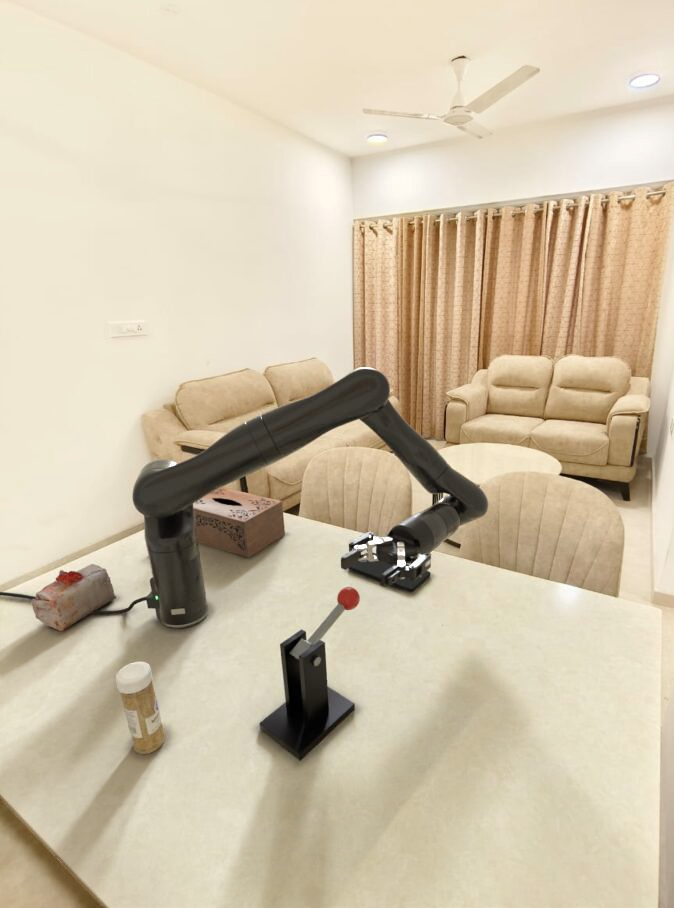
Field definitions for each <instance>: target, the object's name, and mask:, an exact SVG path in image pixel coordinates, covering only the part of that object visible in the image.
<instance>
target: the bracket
mask: <svg viewBox="0 0 674 908" xmlns="http://www.w3.org/2000/svg"><path fill="white" fill-rule="evenodd" d="M301 639H304V640H306V641H307V640H308V639H307V631H306V630H304V629H300V630H298V631H296V633H294V634H292V635H291V636H290V637H288V638H287V639H285V640H283V641H282V642H280V643H279V649H280V658H281V659H280V660H281V669H282V679H283V689H284V698H285V702H284V703H283V704H281V705H280V706H279V707H277V708H276V709H275V710H274V711H272V713H270V714H269V715H268V716H267V717H265V718H264V719H263V720H261V721H260V722H259V723H258V724H259V730H261V732H263V733H264V734H265V735H266V736H268V737H269V738H270V739H272V740H273V742H275V743H276V744H278V745H279V746H280V747H282V748H283V749H284V750H286V751H287V753H290V754H291V755H292V756H293V757H294V758H295V759H297V761H300V762H301V761H302V760H303V759H304V758H305V757H306V756H308V755H309V753H311V751H313V750H314V749H315V748H316V747H317V746H318V745H320V743H321V742H322V741H323V740H325V738H326V737H328V736H329V735H330V733H332V732H333V731H334V730H335V729H336V728H337V727H338V726H339V725H340V724H341V723H342V722H343V721H344V720H346V719H347V718H348V717H349V716H350V715H351V714H352V713H353V712H354V711H355V709H356V708H355V707H356V706H355V702H353V701H352V700H350V699H348V698H347V697H345V696H343V695H342V694H340V693H338V692H337V691H336V690H334V689H332V688H331V687H329V685H328V672H327V671H328V669H327V655H326V654H327V653H326V642H325V641H323V640H322V639H321V640H319V641H318V642H317V643H315V644H314V645H313V646H311V647H310V648H309V649H307V650H306V651H304V652H303V653H302V654H300V655H299V664H297V663H296V662H295V661H294V660H293V658H292V657H291V655H290V651H291V650H292V649H293V648H294V647H295V646H296V644H297V643H298V642H299V641H300V640H301Z"/></svg>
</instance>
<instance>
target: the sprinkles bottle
mask: <svg viewBox="0 0 674 908" xmlns="http://www.w3.org/2000/svg"><path fill="white" fill-rule="evenodd" d="M153 678H154V677H153V672H152V667H151V665H150V664H149V663H147V662H145V661H134V662H131V663H128V664H126V665H125V666H123V667H121V668H120V670H118V671H117V672H116V675H115V683H116V688H117V690H118V692H119V694H120V697H121V701H122V707H123V711H124V714H125V719H126V723H127V726H128V730H129V734H130V735H131V738H132V742H133V744H132V747H133V750H134V751H135V752H136V753H138V754H141V755H146V754H151V753H153V752H155V751H157V750H158V749H160V747H161V746H162V745H163V744H164V743H165V740H166V732H165V730H164V727H163V722H162V715H161V712H160V707H159V702H158V698H157V695H156V691H155V687H154V682H153Z"/></svg>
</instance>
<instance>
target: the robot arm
mask: <svg viewBox="0 0 674 908" xmlns="http://www.w3.org/2000/svg"><path fill="white" fill-rule="evenodd" d="M390 393H391V385H390V382H389V380H388V378H387V376H386V375H385V374H384V373H383V372H381V371H380V370H378V369H376V368H373V367H369V366H362V367H357V368H355V369H353V370H351V371H349V373H347V374H345V376H342V378H340V379H339V380H336V381H335V382H334V383H332V384H330V385H329V386H327V387H326V388H324V389H321V390H320V391H318V392H316V393H314V394H311V395H310V396H307V397H304V398H301V399H298V400H295V401H292V402H289V403H286V404H283V405H281V406H277V407H275V408H273V409H270V410H268V411H265V412H263V413H261V414H258V415H256V416H255V417H252V418H251V419H247V420H246V421H244V422H242V423H240V424H239V425H237V426H235V427H234V428H232V429H231V430H229V431H228V432H227V433H225V434H223V436H221V437H220V438H218V439H217V440H216V441H215V442H213V443H212V444H211V445H209V447H207V448H206V449H205V450H203V451H201V452H200V453H198V454H197V455H194V456H193V457H190V458H188V459H185V460H184V461H180V462H176V461H174V460H171V459H167V458H159V459H154V460H152V461H150V462H147V464H145V465H144V466H143V467H142V468H141V469H140V471H139V473H138V475H137V477H136V480H135V482H134V485H133V488H132V497H131V498H132V503H133V506H134V508H135V510H137V511H138V513H140V514H141V515H143V521H144V523H143V524H144V541H145V545H146V550H147V555H148V560H149V565H150V569H151V575H152V577H150V578H149V585H150V592H149V593H148V594H147V595H146V596H143V597H140V598H136V599H135V600H133V601H132V602H131V603H130V604H129V606H128V607H126V608H123V609H116V610H102V609H97V610H94V611H92V612H91V613H90V614H97V615H118V614H124V613H128V612H130V611H131V610H132V609H133V608H134V606H135V605H137V604H139V603H141V602H144V601H145V602H146V606H147V609H153V610H154V609H155V613H156V619H157V620H159V621H160V622H161V624H162V625H163V626H164V627H166V628H169V629H185V628H189V627H192V626H194V625H197V624H199V623H201V622H202V621H203V620H204V619H205V618H206V617H207V616H208V614H209V611H210V607H209V604H208V599H207V592H206V585H205V580H204V574H203V567H202V561H201V555H200V554H201V553H200V549H199V542H197V536H196V527H195V515H194V508H193V503H195V502H196V501H198V500H199V499H201V498H203V497H204V496H206V495H207V494H209V493H211V492H213V491H214V490H216V489H218V488H220V487H225V486H227V485H229V484H231V483H234V482H236V481H238V480H240V479H242V478H244V477H247V476H248V475H249V476H250V475H251V474H253V473H255V472H257V471H259V470H261V469H264V468H267V467H268V466H270V465H273V464H275V463H277V462H278V461H281V460H283V459H285V458H287V457H288V456H290V455H291V454H292V455H293V454H294V453H296V452H297V451H300V450H301V449H302V448H304V447H306V446H308V445H310V444H311V443H312V442H314V441H316V440H317V439H319V438H320V437H321V436H324V435H325V434H327V433H329V432H330V431H333V430H335V429H338V428H339V427H342V426H344V425H347V424H349V423H352V422H355V421H358V420H360V421H361V422H362V423H363V424H364V425H366V426H367V427H368V428H369V429H370V430H371V431H372V432H374V434H375V435H376V436H378V438H380V440H381V441H383V443H384V444H385V445H386V446H387V447H388V448H389V449H390V450H391V452H392V453H393V454H394V455H395V456H396V458H398V460H399V461H400V462H401V463H402V464H403V466H404V467H405V468H406V469H407V471H408V472H409V473H410V474H411V476H412V477H413V478H414V479H415V480H416V481H417V482H418V483H419V484H420V485H421V486H422V488H423V489H424V490H425V491H426V492H427V493H429V494H431V495H438V494H447V495H445V496H444V497H442V498H440V499H439V500H437V501H436V502H435V503H434V504H433V505H431V506H429V507H427V508H425V509H424V510H422V511H420V512H417V513H415V514H412V515H411V516H409V517H408V518H406V519H404V520H403V521H401V522H399V523H398V524H396V525H394V526H392V528H391V529H390V530H389V532H388V534H387V535H386V536H382V537H375V533H374V532H373V531H368V532H366V533H364V534H362V535H360V536H358V537H356V538H354V539H352V540H350V541H348V552H347V553H345V554H343V555H342V556H340V568H341V569H342V570H344V571H346V570H349V569H348V568H349V567H351V566H353V565H354V564H356V563H357V562H358V561H362V560H368V561H370V562H372V561H382V562H386V563H388V564H389V565H394V566H393V567H391V568H390V569H388V570H387V571H386V572H384V573H383V574H382V575H381V581H380V586H381V587H382V588H383V587H384V588H387V587H388V586H393V585H392V584H393V583H395V582H396V581H398V580H399V579H404V578H405V577H406V578H409V580H410V581H415V580H417V579H418V578H419V577H420V576H421V575H422V574H423V573H425V572H426V571H428V570H429V569H430V568H431V567H432V552H434V550H436V549H437V548H438V547H439V546H440V545H441V544H442V543H443V542H445V541H446V540H447V539H449V538H451V536H453V535H454V534H455V533H456V532H457V530H458V529H459V527H461V526H464V525H466V524H468V523H471V522H473V521H476V520H478V519H480V518H483V517H484V516H485V515H486V514H487V512H488V511H489V501H488V497H487V495H486V493H485V492H484V490H483V489H482V488H481V487H480V486H479V485H478V484H476V483H475V482H474V481H472V480H471V479H469V478H468V477H466V476H465V475H464V474H461V473H460V472H459V471H457V470H455V469H454V468H452V466H451V465H450V464H449V463H448V462H447V460H446V459H445V458H444V457H443V456H442V454H440V451H438V450H437V449H436V448H435V447H434V446H433V444H431V443H430V442H429V441H428V440H427V439H426V438H425V437H423V436H422V434H421V433H419V432H418V431H417V430H416V429H415V428H414V427H412V426H411V425H410V424H409V423H408V422H407V421H406V420H405V419H404V418H403V416H402V415H401V414H400V413H399V412H398V411H397V409H396V408H395V406H394V405H393V404H392V402H391V401H390ZM374 548H375V553H376V555H372V552H373V549H374ZM364 551H366V552H365V553H364V554H363V552H364ZM405 564H408V565H409V566H405ZM395 565H397V566H395ZM0 596H4V597H14V598H20V599H25V600H26V599H27V600H32V599H35V598H36V596H34V595H30V594H29V595H28V594H23V593H17V592H16V593H14V592H6V591H0Z"/></svg>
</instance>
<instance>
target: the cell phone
mask: <svg viewBox="0 0 674 908" xmlns="http://www.w3.org/2000/svg"><path fill="white" fill-rule="evenodd" d="M372 555H376V552H373V551H372ZM409 565H410V564H405V566H409ZM393 566H394V565H389V564H388V563H386V562H382V561H372V562H370V561H368V560H362V561H358V562H357V563H356V564H354V565H353V566H351V567H349V568H348V569H347V570H349V571H352V572H355V573H358V574H360V575H363V576H366V577H369V578H371V579H374V580H377V581H379V582H381V575H382V574H383V573H384V572H386V571H387V570H388V569H390V568H391V567H393ZM395 566H397V565H395ZM430 577H431V571H428V570H427V571H426V572H425V573H423V574H422V575H421V576H420V577H419V578H418V579H417V580H415V581H410V580H409V578H406V577H405V578H404V579H399V580H398V581H396V582H395V583H393V584H392V585H391V586H393V587H395V588H398V589H401V590H403V591H406V592H409V593H413V592H415V591H416V590H417V589H418V588H419V587H421V586H422V585H423V584H424V583H425V582H426V581H427V580H428V579H429V578H430Z"/></svg>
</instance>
